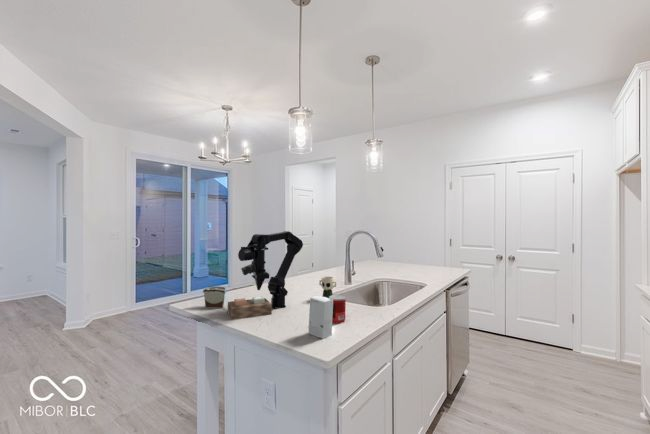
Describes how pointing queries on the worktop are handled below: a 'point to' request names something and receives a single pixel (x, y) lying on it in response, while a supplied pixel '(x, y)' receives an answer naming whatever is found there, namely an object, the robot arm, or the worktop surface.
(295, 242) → the robot arm
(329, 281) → the character mug
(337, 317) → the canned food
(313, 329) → the skincare box
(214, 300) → the food container
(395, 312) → the worktop surface
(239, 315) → the key console
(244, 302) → the terracotta key
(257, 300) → the sage key
